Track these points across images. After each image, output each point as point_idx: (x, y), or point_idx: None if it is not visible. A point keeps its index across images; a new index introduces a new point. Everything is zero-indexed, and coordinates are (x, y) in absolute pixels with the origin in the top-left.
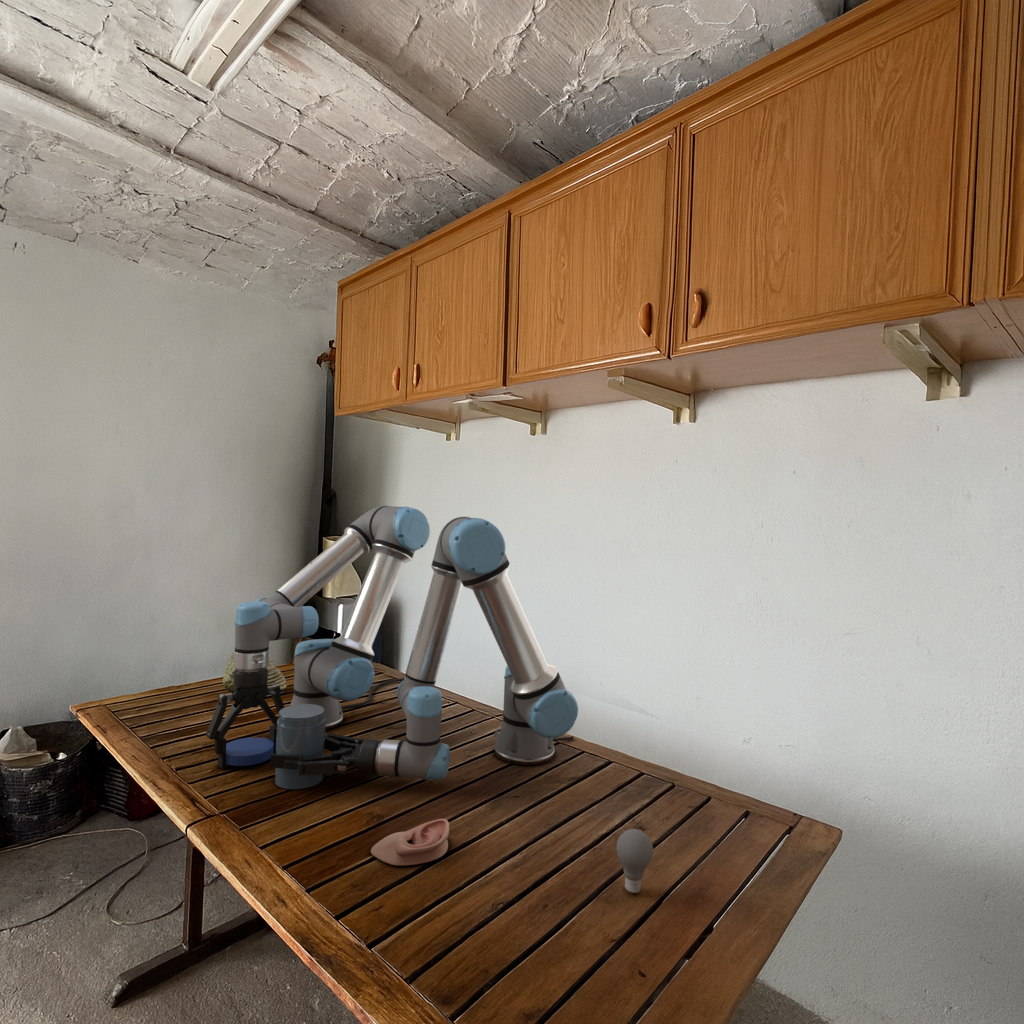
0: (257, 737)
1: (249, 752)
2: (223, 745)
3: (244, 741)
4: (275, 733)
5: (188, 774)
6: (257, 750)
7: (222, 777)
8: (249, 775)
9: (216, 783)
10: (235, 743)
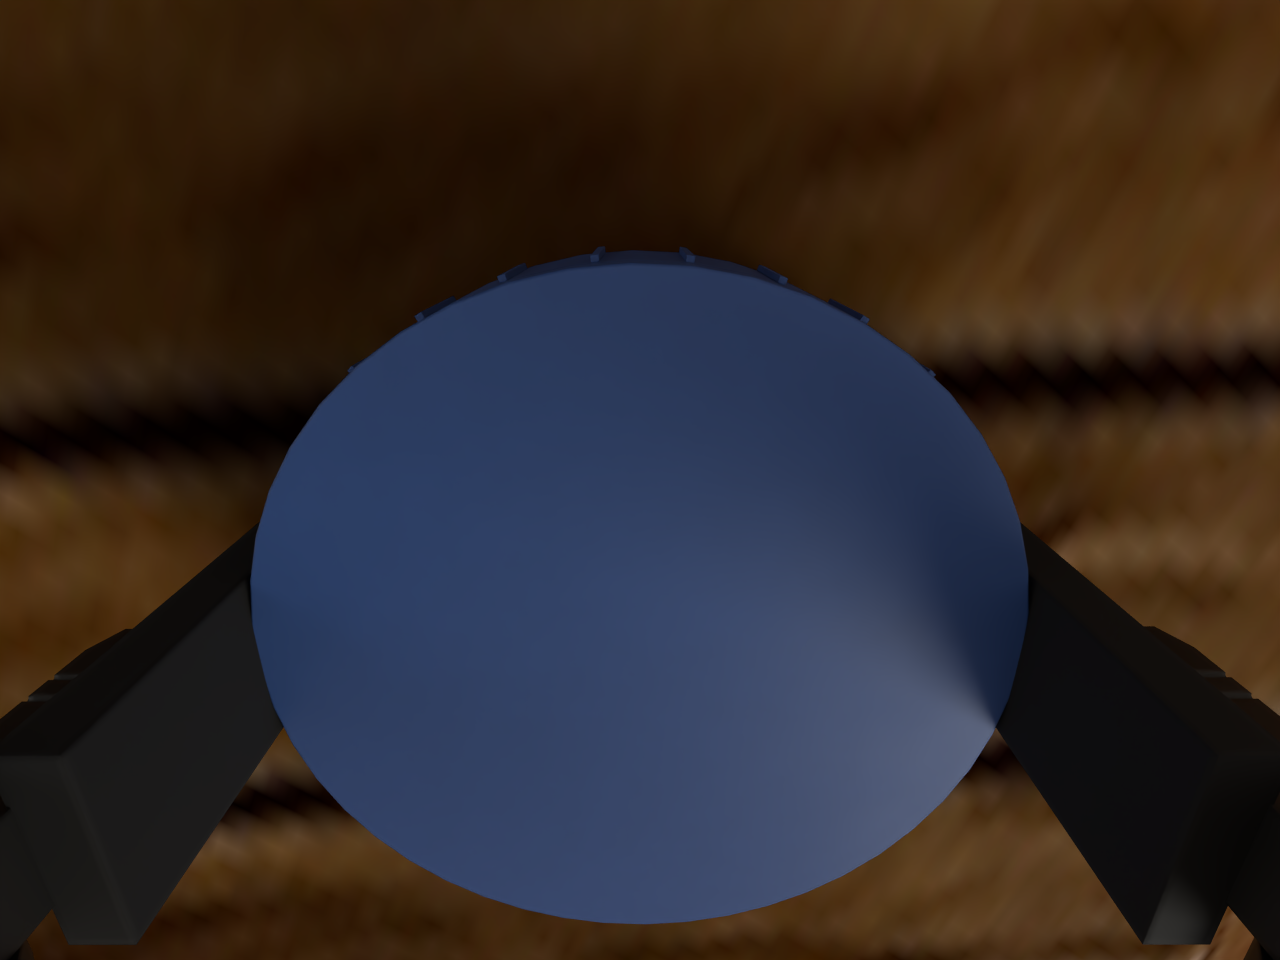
0: (410, 859)
1: (731, 421)
2: (1195, 677)
3: (609, 833)
4: (109, 676)
5: (1277, 590)
6: (583, 427)
7: (1094, 274)
8: (815, 96)
9: (1260, 130)
10: (737, 834)
